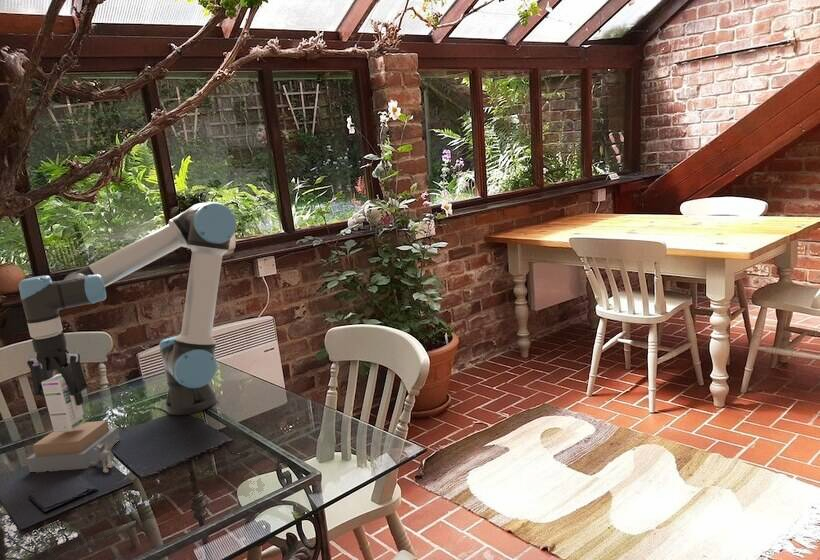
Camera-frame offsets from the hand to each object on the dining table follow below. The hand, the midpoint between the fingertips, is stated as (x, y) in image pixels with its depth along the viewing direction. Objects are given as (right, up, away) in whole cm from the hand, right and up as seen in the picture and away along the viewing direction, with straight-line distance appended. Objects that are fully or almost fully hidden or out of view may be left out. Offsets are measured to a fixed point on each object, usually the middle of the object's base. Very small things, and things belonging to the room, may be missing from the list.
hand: (67, 417), depth 168 cm
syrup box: (0, -3, +1) cm, 3 cm away
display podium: (+1, -11, +2) cm, 11 cm away
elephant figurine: (+15, -11, -6) cm, 20 cm away
